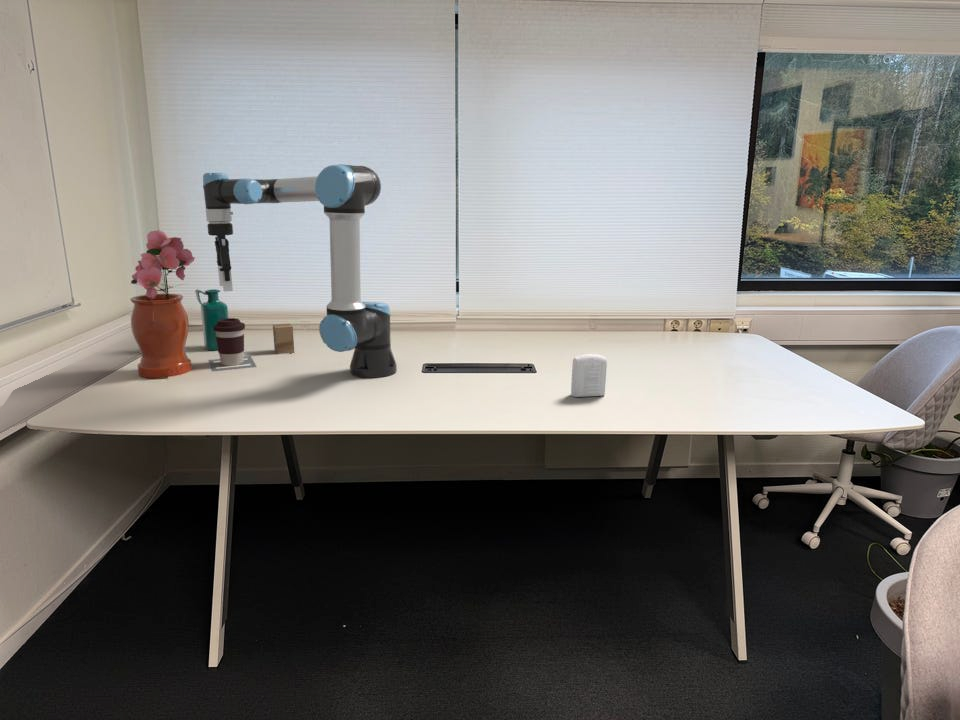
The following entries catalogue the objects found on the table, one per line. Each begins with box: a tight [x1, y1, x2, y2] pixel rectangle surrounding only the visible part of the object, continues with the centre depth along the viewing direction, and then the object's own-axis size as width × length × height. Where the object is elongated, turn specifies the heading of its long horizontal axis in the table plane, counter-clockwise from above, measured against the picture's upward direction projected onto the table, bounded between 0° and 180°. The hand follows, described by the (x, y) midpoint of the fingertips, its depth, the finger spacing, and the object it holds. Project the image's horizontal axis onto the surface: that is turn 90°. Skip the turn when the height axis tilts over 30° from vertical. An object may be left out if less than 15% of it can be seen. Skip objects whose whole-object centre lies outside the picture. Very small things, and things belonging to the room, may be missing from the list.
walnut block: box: [272, 323, 295, 355], centre depth 240 cm, size 6×6×10 cm
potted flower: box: [130, 229, 196, 379], centre depth 211 cm, size 19×25×45 cm
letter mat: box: [208, 355, 257, 372], centre depth 225 cm, size 16×14×1 cm
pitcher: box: [195, 288, 229, 352], centre depth 244 cm, size 10×8×22 cm
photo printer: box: [570, 353, 608, 398], centre depth 194 cm, size 10×4×12 cm, turn 103°
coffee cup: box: [213, 317, 246, 366], centre depth 223 cm, size 10×10×15 cm
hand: (226, 288), depth 218 cm, fingers open, 13 cm apart
